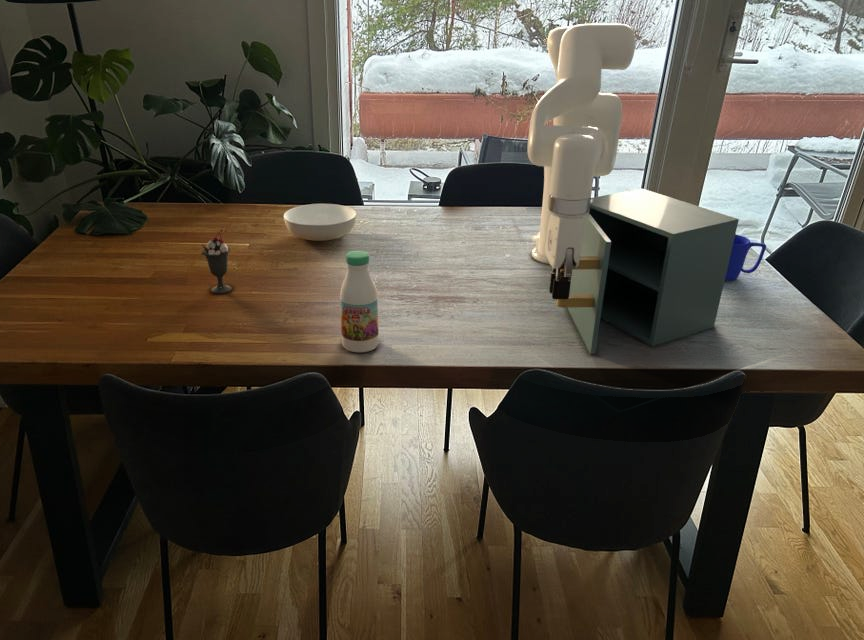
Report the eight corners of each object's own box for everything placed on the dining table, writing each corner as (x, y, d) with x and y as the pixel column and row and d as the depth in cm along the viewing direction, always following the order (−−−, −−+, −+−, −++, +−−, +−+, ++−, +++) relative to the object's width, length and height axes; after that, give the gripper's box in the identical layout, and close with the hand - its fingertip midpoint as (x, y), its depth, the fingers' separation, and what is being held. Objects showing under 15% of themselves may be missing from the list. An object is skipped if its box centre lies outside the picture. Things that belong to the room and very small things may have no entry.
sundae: (240, 286, 178) (233, 228, 171) (224, 296, 173) (216, 237, 165) (218, 282, 180) (210, 225, 173) (202, 292, 175) (193, 233, 168)
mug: (761, 285, 173) (771, 246, 169) (708, 282, 176) (717, 243, 171) (753, 273, 180) (762, 235, 176) (702, 270, 183) (710, 232, 178)
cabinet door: (555, 354, 145) (568, 242, 133) (533, 301, 167) (542, 201, 156) (595, 354, 144) (611, 241, 133) (567, 301, 167) (579, 201, 156)
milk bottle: (341, 337, 153) (337, 248, 143) (377, 335, 153) (375, 246, 144) (342, 354, 146) (338, 262, 137) (380, 352, 147) (378, 260, 137)
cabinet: (652, 346, 147) (673, 234, 136) (568, 301, 167) (580, 199, 156) (714, 327, 154) (738, 219, 143) (626, 286, 175) (641, 188, 163)
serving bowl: (355, 248, 201) (354, 224, 197) (280, 249, 201) (278, 225, 198) (358, 224, 219) (358, 202, 216) (290, 225, 219) (288, 203, 216)
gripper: (541, 192, 140) (533, 280, 149) (556, 218, 126) (546, 312, 135) (580, 192, 140) (569, 280, 149) (599, 217, 126) (586, 312, 135)
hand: (558, 295), depth 142 cm, fingers closed on cabinet door, 2 cm apart
